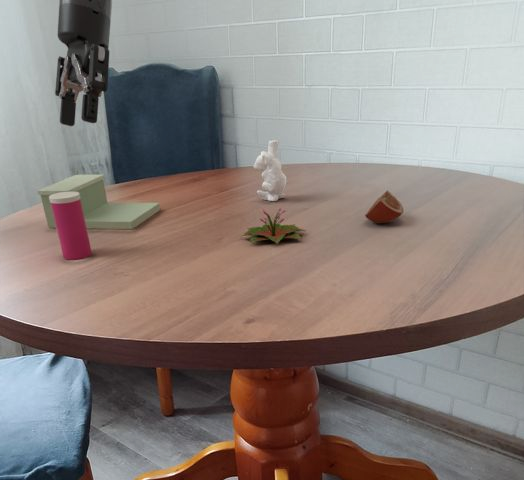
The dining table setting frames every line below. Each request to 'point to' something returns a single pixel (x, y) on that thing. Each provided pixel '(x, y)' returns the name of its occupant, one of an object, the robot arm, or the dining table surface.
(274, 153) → the white bunny figurine
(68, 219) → the lidded tumbler cup
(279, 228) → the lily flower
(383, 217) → the fruit slice
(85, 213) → the step shelf
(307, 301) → the dining table surface
